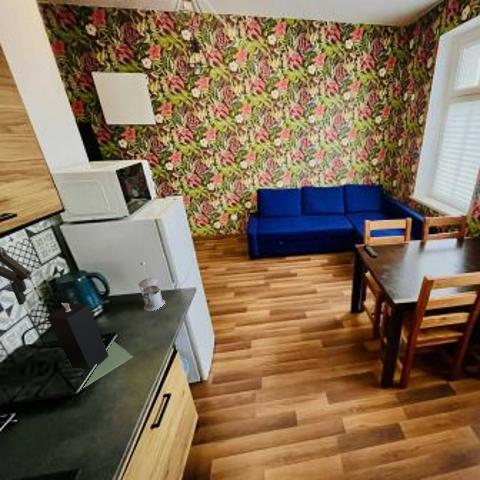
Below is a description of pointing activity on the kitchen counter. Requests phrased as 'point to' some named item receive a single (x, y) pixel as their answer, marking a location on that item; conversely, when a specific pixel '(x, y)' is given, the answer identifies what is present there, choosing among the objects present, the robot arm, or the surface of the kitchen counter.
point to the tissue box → (78, 335)
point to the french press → (151, 293)
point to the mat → (110, 362)
